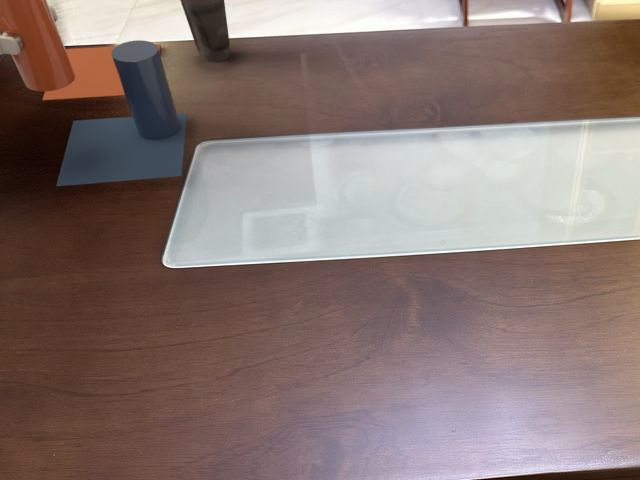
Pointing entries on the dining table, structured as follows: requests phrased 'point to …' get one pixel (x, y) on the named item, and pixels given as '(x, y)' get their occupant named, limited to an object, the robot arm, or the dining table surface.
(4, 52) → the robot arm
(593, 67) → the dining table surface
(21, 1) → the orange cylinder
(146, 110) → the navy blue cylinder
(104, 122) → the blue mat
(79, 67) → the terracotta mat
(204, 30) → the beverage cup
